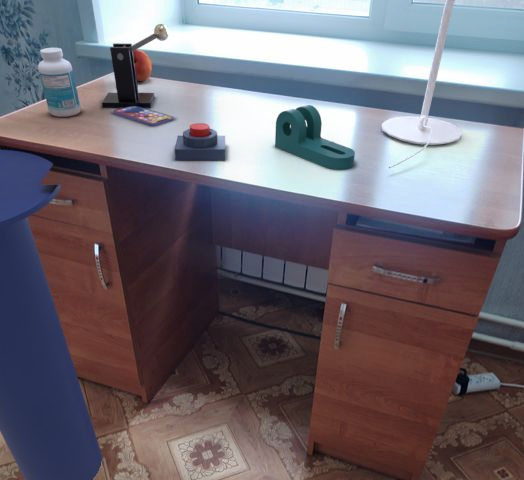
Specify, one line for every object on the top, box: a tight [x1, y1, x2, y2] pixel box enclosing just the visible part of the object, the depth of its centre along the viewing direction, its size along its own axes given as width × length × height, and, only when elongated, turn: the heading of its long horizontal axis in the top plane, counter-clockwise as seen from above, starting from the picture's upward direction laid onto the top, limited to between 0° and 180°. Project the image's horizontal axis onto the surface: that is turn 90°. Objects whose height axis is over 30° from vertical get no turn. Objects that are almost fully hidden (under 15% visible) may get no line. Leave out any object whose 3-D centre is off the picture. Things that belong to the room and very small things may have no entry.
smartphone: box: [112, 106, 175, 127], centre depth 122 cm, size 1×7×15 cm
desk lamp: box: [381, 0, 463, 169], centre depth 95 cm, size 37×18×45 cm, turn 169°
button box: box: [174, 128, 226, 161], centre depth 103 cm, size 10×8×4 cm
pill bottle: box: [37, 47, 82, 118], centre depth 118 cm, size 8×7×14 cm
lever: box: [123, 23, 170, 53], centre depth 121 cm, size 14×3×3 cm, turn 93°
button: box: [189, 122, 211, 137], centre depth 102 cm, size 4×4×2 cm
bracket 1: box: [101, 42, 155, 109], centre depth 126 cm, size 12×9×13 cm
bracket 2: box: [274, 104, 356, 171], centre depth 103 cm, size 18×7×8 cm, turn 42°
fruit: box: [133, 49, 153, 82], centre depth 143 cm, size 8×8×8 cm
